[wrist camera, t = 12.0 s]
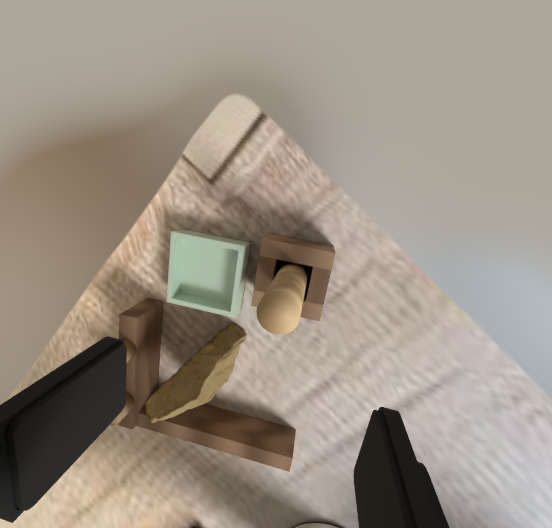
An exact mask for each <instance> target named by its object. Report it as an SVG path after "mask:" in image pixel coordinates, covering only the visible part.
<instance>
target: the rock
mask: <svg viewBox="0 0 552 528" xmlns="http://www.w3.org/2000/svg"><path fill="white" fill-rule="evenodd" d="M246 335H247V334H246V333H245V332H244V331H243V330H241V329H240V328H239V327H238V326H237V325H235V324H233V323H232V324H230V325H228V326H227V327H226V328H225V329H223V330H221V331H220V332H219V333H218V334H217V335H216V336H215V337H213V338H212V339H211V341H209V342H208V343H207V344H205V345H204V346H203V347H202V348H201V349H200V350H199V351H198V352H197V353H196V354H195V355H193V356H192V357H191V358H190V359H189V360H188V361H187V362H186V363H185V364H184V365H183V366H182V367H181V368H180V369H179V370H178V371H177V372H176V374H174V375H173V376H172V377H171V378H170V379H169V380H168V381H167V382H166V383H164V384H163V385H162V386H161V387H160V388H159V389H158V390H157V391H156V392H155V393H154V394H153V395H152V396H151V397H150V398H149V399H148V401H147V402H146V403H145V404H146V413H147V416H148V420H149V421H150V422H151V423H155V422H157V421H160V420H166V419H168V418H172V417H175V416H176V415H178V414H181V413H183V412H185V411H186V410H188V409H193V408H195V407H198V406H199V405H203V404H205V403H207V402H209V401H210V400H212V398H213V397H214V395H215V393H216V391H217V390H218V389H219V388H220V387H221V386H223V384H224V383H225V382H227V381H228V378H229V376H230V374H231V372H232V370H233V366H234V361H235V358H236V357H237V354H238V348H239V345H240V344H242V342H244V340H245V339H246Z"/></svg>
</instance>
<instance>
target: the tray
mask: <svg viewBox="0 0 552 528" xmlns="http://www.w3.org/2000/svg"><path fill="white" fill-rule="evenodd" d="M250 247H251V242H246V241H241V240H236V239H231V238H226V237H221V236H216V235H210V234H205V233H200V232H195V231H190V230H185V229H181V230H176V231H171V241H170V257H169V272H168V288H167V302H169V303H173V304H177V305H181V306H186V307H190V308H194V309H198V310H203V311H207V312H211V313H215V314H220V315H224V316H228V317H232V318H235V317H236V316H237V315H238V313H239V312H240V311H241V309H242V303H243V296H244V289H245V282H246V275H247V268H248V261H249V254H250Z"/></svg>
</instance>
